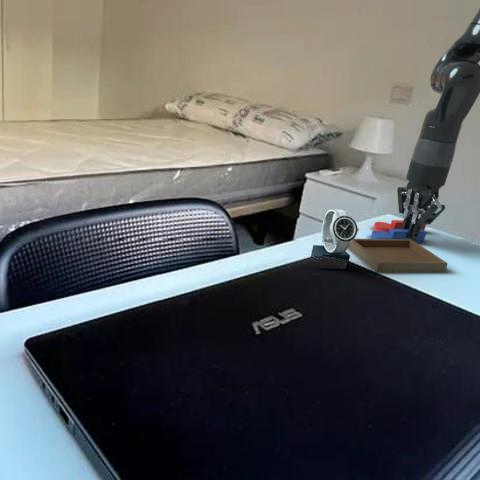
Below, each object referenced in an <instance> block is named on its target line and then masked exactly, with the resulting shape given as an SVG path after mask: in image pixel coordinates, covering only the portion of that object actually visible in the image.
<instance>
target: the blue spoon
mask: <svg viewBox="0 0 480 480" xmlns="http://www.w3.org/2000/svg"><path fill="white" fill-rule="evenodd" d="M408 230H409V229H390V231H389V233H387V232H384V231H374V230H372V231H371V235H370V237H369V239H407V234H408ZM426 235H427V231H425V230H422V229H421V230H420V233H419V237H418V238H417V239H416V240H413V241H414V242H416V243H424V241H425V239H426Z"/></svg>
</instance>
